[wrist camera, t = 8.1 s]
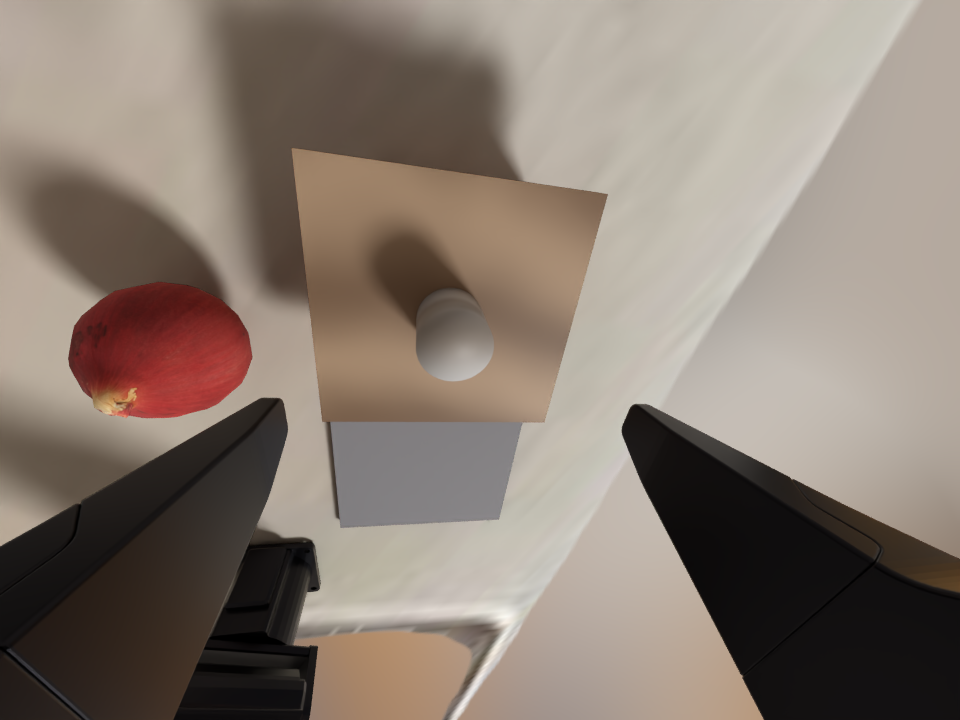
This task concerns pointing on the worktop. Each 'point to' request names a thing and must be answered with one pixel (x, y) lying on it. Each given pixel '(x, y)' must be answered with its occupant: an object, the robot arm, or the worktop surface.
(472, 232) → the walnut lid
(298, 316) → the worktop surface
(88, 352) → the onion
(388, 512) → the rubber mat
